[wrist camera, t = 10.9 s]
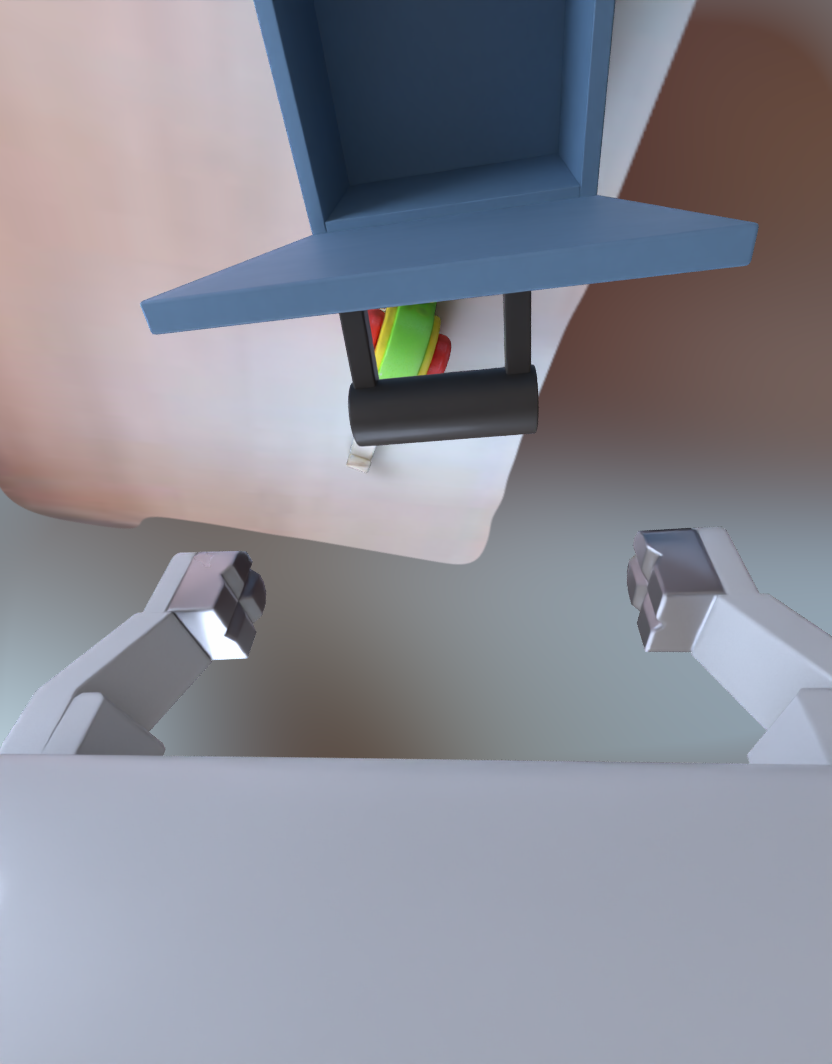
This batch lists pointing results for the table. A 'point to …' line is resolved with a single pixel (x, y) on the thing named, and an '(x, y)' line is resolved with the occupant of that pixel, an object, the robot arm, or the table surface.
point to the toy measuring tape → (403, 353)
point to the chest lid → (453, 296)
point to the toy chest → (438, 103)
